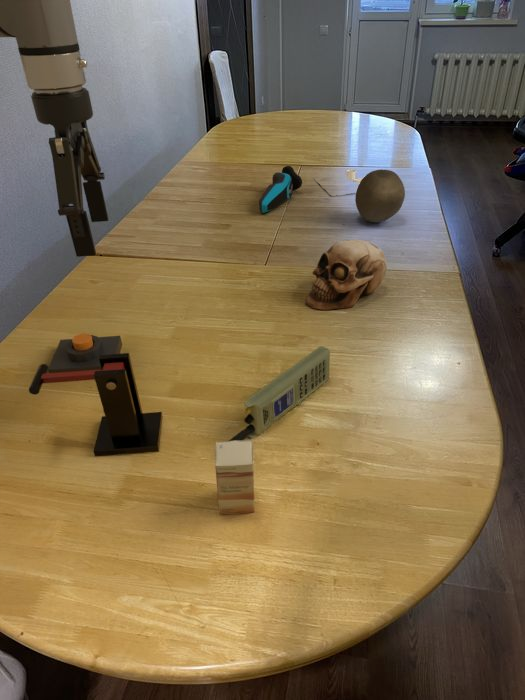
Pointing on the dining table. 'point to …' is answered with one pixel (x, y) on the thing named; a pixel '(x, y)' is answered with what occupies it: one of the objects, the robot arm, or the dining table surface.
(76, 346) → the button
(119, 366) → the switch lever
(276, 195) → the electric shaver
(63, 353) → the control block
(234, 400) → the dining table surface
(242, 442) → the small printed carton
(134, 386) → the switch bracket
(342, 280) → the tan skull
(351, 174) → the teacup and saucer
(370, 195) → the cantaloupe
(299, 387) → the handheld radio
